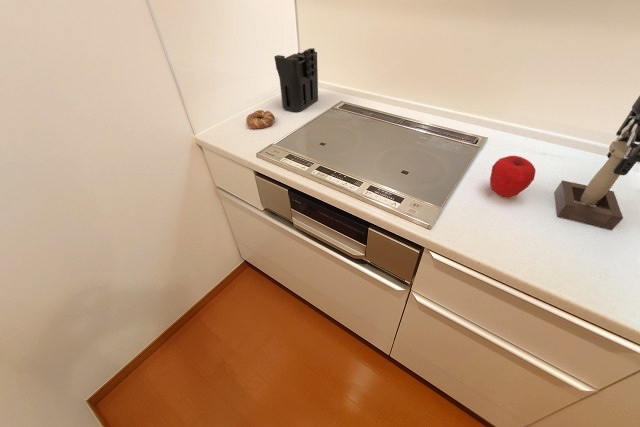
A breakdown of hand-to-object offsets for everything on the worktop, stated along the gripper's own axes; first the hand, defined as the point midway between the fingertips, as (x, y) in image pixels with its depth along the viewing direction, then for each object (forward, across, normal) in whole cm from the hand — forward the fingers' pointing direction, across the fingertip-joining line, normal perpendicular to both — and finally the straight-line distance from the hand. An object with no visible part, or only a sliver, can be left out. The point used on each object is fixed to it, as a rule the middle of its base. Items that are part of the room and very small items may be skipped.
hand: (615, 165), depth 66 cm
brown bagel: (+13, +7, +104) cm, 105 cm away
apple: (+13, -1, +18) cm, 23 cm away
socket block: (+13, 0, 0) cm, 13 cm away
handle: (+11, 0, 0) cm, 11 cm away
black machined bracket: (+13, +31, +98) cm, 104 cm away
